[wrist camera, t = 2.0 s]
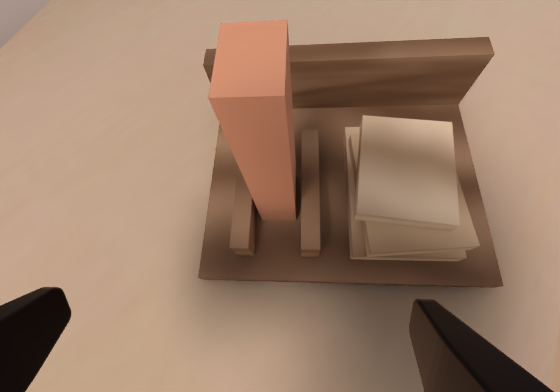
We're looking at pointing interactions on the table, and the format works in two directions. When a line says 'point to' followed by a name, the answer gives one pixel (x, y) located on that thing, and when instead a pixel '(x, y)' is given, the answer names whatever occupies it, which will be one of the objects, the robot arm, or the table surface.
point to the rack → (365, 174)
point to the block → (258, 111)
